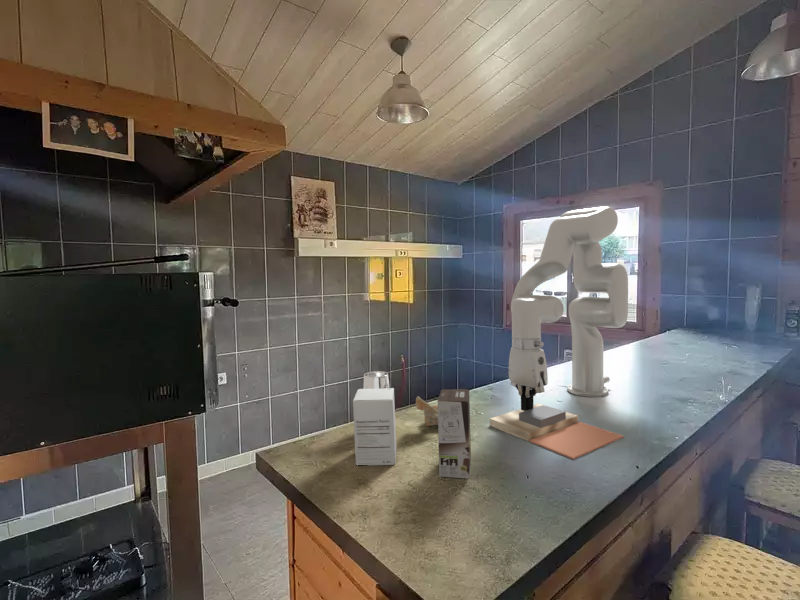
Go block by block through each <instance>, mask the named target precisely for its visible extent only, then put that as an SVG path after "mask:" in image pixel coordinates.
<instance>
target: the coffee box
mask: <svg viewBox="0 0 800 600" xmlns="http://www.w3.org/2000/svg"><path fill="white" fill-rule="evenodd" d="M437 405H438V426H437V429H438V431H437V432H438V433H437V434H438V435H437V437H438V473H439V474H438V476H439V477H440V478H455V479H464V478H465V479H466V480H467V479H470V473H471V472H470V471H471V462H472V458H471V457H472V452H471V451H472V449H471V448H472V447H471V446H472V445H471V415H470V414H471V411H470V408H471V406H470V405H471V403H470V389H467V388H462V389H461V388H457V389H455V388H454V389H445V388H444V389H441V390H440V393H439V395H438V398H437Z"/></svg>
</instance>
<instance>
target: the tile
mask: <svg viewBox="0 0 800 600" xmlns="http://www.w3.org/2000/svg"><path fill="white" fill-rule="evenodd" d="M566 412H567V411H565V410H561V409H558V408H555V407H551V406H549V407H548V405H546V404H542V406H539V407H536V408H533V409H530V410H526V411H523V412H520V413H519V420H520V421H523V422H526V423H528V424H531V425H534V426H537V427H540V428H542V427H545V426H548V425H550V424H553V423H556V422H559V421H562V420H564V419H566Z"/></svg>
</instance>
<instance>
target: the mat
mask: <svg viewBox="0 0 800 600" xmlns="http://www.w3.org/2000/svg"><path fill="white" fill-rule="evenodd" d="M623 438H625V436H624V435H622V434H620V433H616V432H613V431H610V430H606V429H604V428H600V427H597V426H594V425H591V424H587V423H585V422H581V421H578V423H575V424H572V425H570V426H567V427H564V428H561V429H559V430H556V431H553V432H550V433H548V434H545V435H542V436H540V437H537V438H534V439H531V440H530V441H529V443H531V444H534V445H536V446H539V447H541V448H544V449H546V450H549V451H552V452H554V453H556V454H559V455H562V456H564V457H567V458H569V459H571V460H576V459H577V458H579V457H582V456H584V455H587V454H589V453H592V452H594V451H596V450H598V449H601V448H603V447H605V446H608V445H610V444H612V443H614V442H616V441H619V440H621V439H623Z"/></svg>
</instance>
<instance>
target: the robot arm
mask: <svg viewBox="0 0 800 600" xmlns="http://www.w3.org/2000/svg"><path fill="white" fill-rule="evenodd" d="M618 219H619V218H618V214H617V212H616V210H615V209H614V208H613V207H611V206H598V207H591V208H583V209H574V210H570V211H566V212H563V213H562V214H560V216H559V217H558V218H556V219H554V220H553V221H551V223H550V226H549V228H548V231H547V234H546V238H545V241H544V244H543V248H542V251H541V254H540V257H539V260H538V261H537V262H536V263H535V264H534V265H532V266H531V267H530V268H529V269H528V270H527V271H526V272H525V273H524V274H523V275H522V277H520V279H519V280H518V281H517V284H516V286H515V289H514V292H513V294H512V297H511V301H510V302H511V303H510V312H511V347H510V351H509V359H508V379H509V381H510V385H512V386H513V387H515V388H516V390H517V391H518V396H520V409H521V410H522V411H526V410H530V409H533V405H534V397H536V394H542V393H545V386H547V385H548V383H549V382H548V381H549V380H548V365H547V357H546V354H545V350H544V349H542V348H543V347H544V345H545V343H544V342H543V341H542V323H546V324H553V323H555V322H557V321H559V320H560V319H561V318H562V316H563V315H564V312H565V311H564V304H563V301H561V300H560V298H558V297H556V296H552V295H540V294H539V295H536V294H533V291H534V290H535V289H537V288H538V287H539V286H541V284H543V283H545V282H548V281H550V280H551V279H554V278H556V277H559V276H561V275H564V274H565V273H566V272H567V271H569V268H570V265H571V262H572V260H573V286H574V288H575V290H576V291H578V293H579V292H580V293H586V294H588V293H589V294H607V295H608V297H597V296H581V297H580V296H579V297H576V298H575V299H572V301H571V302H570V303H569V305H568V317H569V322H570V328H571V363H572V364H571V372H572V373H571V383H570V384H569V385H567V387H566V390H567V391H568V392H569V393H570V394H573V395H576V396H581V397H588V398H589V397H592V398H593V397H594V398H595V397H596V398H598V397H604V396H607V395H609V393H610V391H609V389H608V387H606V386H605V384H606V383H609V382H610V380H611V379H610V377H609V376H604V338H603V336H602V334H601V332H600V330H599V329H598V328H608V329H611V328H612V329H620V328H623V327H624V326H625V325H626V323H627V321H628V316H629V278H628V277H629V275H628V271H627V270H626V268H625V266H624V265H622V264H620V263H618V262H617V263H616V262H607V263H606V262H605V263H603V255H602V253H603V251H602V246H601V244H600V242H601V241H602V240H603V239H605V238H607V237H608V236H609V237H610V235H612V234H613V232H615V230H616V228H617V226H618V223H619V222H618V221H619V220H618ZM572 258H573V259H572ZM597 327H598V328H597Z"/></svg>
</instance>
